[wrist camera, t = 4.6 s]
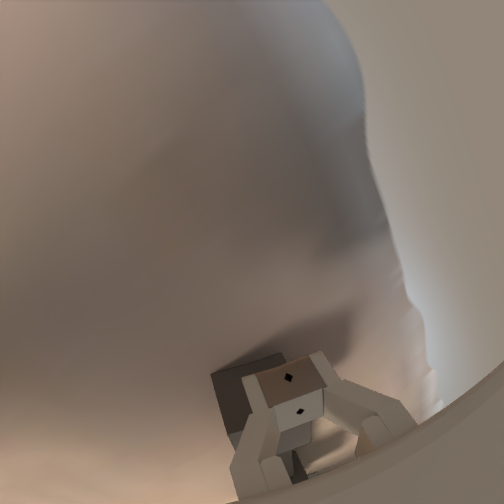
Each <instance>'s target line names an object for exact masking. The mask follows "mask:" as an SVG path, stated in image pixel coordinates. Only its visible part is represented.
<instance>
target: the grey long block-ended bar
mask: <svg viewBox="0 0 504 504" xmlns="http://www.w3.org/2000/svg"><path fill="white" fill-rule="evenodd" d="M285 363H287V362H286V361H285V359H284V357H283V355H282V353H279V354H276V355H273V356H270V357H267V358H264V359H261V360H258V361H254V362H251V363H248V364H244V365H241V366H238V367H234V368H231V369H227V370H224V371H220V372H217V373H213V374H211V378H212V382H213V386H214V389H215V393H216V397H217V400H218V404H219V407H220V411H221V414H222V418H223V421H224V425H225V428H226V431H227V435H228V437H229V439H230V441H231V443H232V445H233V447H234V449H235V451H236V449H237V447H238V444H239V441H240V439H241V436H242V433H243V430H244V428H245V425H246V422H247V419H248V417H249V415H250V414H253V412H252V409H251V406H250V403H249V400H248V397H247V394H246V391H245V388H244V385H243V383H242V377H245V376H248V375H252V374H255V373H258V372H262V371H265V370H268V369H271V368H275V367H278V366H281V365H282V364H285ZM280 433H281V434H280V438H279V442H278V447H277V451H276V455H275V456H278V457H281V459H282V461H283V464H284V466H285V468H286V471H287V473H288V475H289V478H290V480H291V482H292V485H294V484H297V483H299V482H302V481H305V480H308V479H309V478H308V476H307V474H306V472H305V470H304V468H303V466H302V464H301V462H300V460H299V457H298V455H297V453H296V451H293V452H292V449H295V448H298V447H301V446H303V445H306V444H309V443H311V421H309V422H306V423H303V424H300V425H298V426H295V427H293V428H290V429H287V430H285V431H282V432H280Z"/></svg>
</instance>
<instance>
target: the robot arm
mask: <svg viewBox="0 0 504 504" xmlns="http://www.w3.org/2000/svg"><path fill="white" fill-rule="evenodd" d="M242 383H243V385H244V388H245V391H246V394H247V397H248V400H249V403H250V406H251V409H252V412H253V414H250V415H249V417H248V419H247V422H246V425H245V428H244V430H243V433H242V436H241V439H240V441H239V444H238V447H237V449H236V452H235V455H234V457H233V460H232V463H231V465H230V471H231V475H232V479H233V482H234V486H235V489H236V493H237V496H238V499H239V501H235V502H231V503H227V504H504V361H503V362H502V363H501V364H500V365H498V366H497V367H496V368H495V369H494V370H493V371H492V372H491V373H489V374H488V375H487V376H486V377H484V378H483V379H482V380H481V381H480V382H478V383H477V384H476V385H475V386H473V387H472V388H471V389H470V390H468V391H467V392H466V393H464V394H463V395H462V396H460V397H459V398H458V399H456V400H455V401H454V402H452V403H451V404H449V405H448V406H447V407H445V408H444V409H442V410H441V411H439V412H438V413H436V414H435V415H433V416H432V417H430V418H429V419H427V420H426V421H424V422H423V423H421V424H419V425H418V424H417V423H416V422H415V420H414V419H413V418H412V416H411V415H410V414H409V412H408V411H407V410H406V409H405V407H404V406H403V405H402V403H401V402H400V401H399V400H397V399H394V398H391V397H389V396H386V395H383V394H381V393H378V392H376V391H373V390H370V389H368V388H365V387H363V386H360V385H358V384H356V383H353V382H351V381H348V380H346V379H344V380H342V381H341V379H340V378H339V376H338V375H337V373H336V372H335V370H334V369H333V367H332V366H331V364H330V363H329V361H328V360H327V358H326V357H325V355H324V354H323V352H322V351H318V352H315V353H312V354H310V355H307V356H304V357H301V358H299V359H296V360H293V361H291V362H288V363H285V364H282V365H281V366H278V367H275V368H271V369H268V370H265V371H262V372H258V373H255V374H252V375H248V376H245V377H242ZM322 416H324V417H325V418H327V419H328V420H330V421H332V422H333V423H335V424H337V425H339V426H340V427H342V428H344V429H346V430H348V431H349V432H351V433H353V434H355V435H357V436H358V442H357V446H356V450H355V454H356V456H357V459H355V460H353V461H351V462H349V463H346V464H344V465H342V466H340V467H337V468H335V469H333V470H330V471H328V472H326V473H323V474H321V475H318V476H316V477H313V478H310V479H308V480H305V481H302V482H299V483H297V484H294V485H292V482H291V480H290V478H289V475H288V473H287V471H286V468H285V466H284V464H283V461H282V459H281V457H278V456H275V455H276V451H277V447H278V442H279V438H280V434H281V433H280V432H282V431H285V430H287V429H290V428H293V427H295V426H298V425H300V424H303V423H306V422H309V421H311V420H314V419H317V418H319V417H322Z"/></svg>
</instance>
